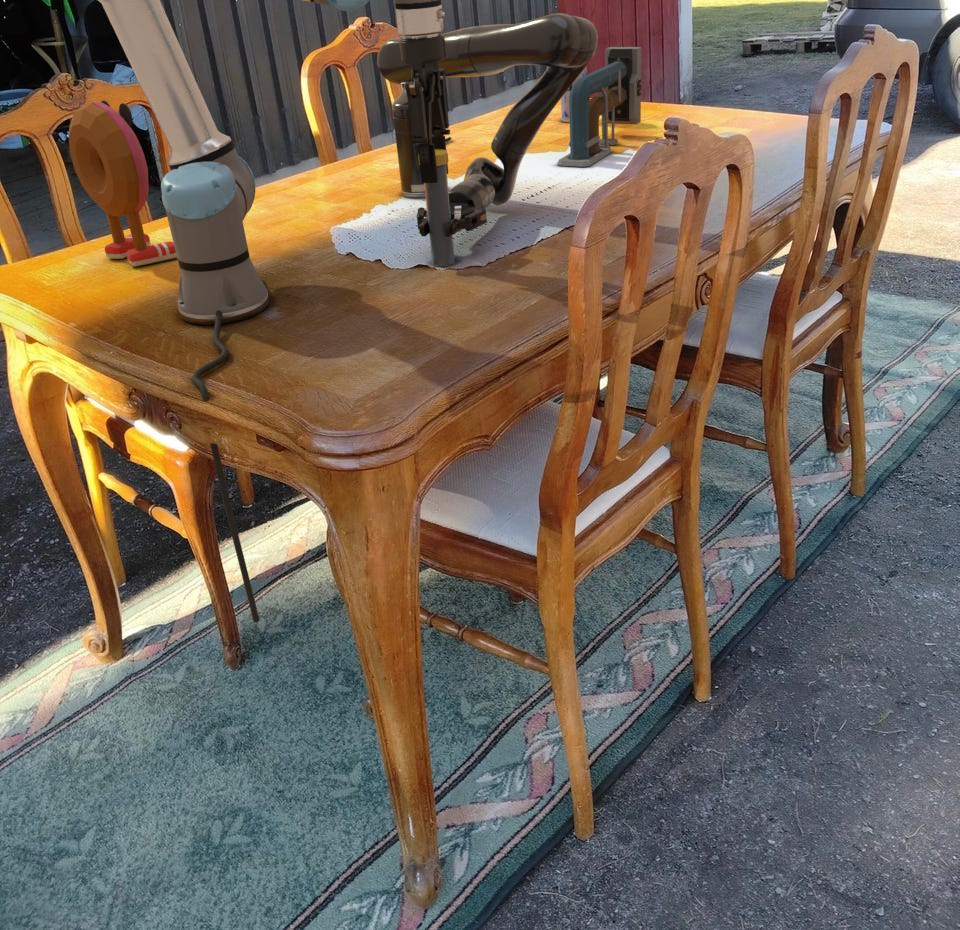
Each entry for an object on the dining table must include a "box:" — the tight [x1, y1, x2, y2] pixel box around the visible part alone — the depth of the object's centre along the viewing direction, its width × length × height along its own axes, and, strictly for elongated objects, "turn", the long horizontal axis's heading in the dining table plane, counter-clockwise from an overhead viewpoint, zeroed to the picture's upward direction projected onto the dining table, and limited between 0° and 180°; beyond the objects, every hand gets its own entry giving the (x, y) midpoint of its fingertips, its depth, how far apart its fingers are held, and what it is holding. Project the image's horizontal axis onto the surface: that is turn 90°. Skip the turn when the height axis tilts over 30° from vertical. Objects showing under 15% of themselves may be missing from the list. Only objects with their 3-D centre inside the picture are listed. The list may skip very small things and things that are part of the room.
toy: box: [68, 100, 177, 267], centre depth 187 cm, size 21×10×30 cm, turn 47°
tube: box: [424, 164, 456, 267], centre depth 174 cm, size 4×4×19 cm
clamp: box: [556, 46, 642, 168], centre depth 239 cm, size 35×9×21 cm, turn 151°
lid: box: [418, 149, 449, 166], centre depth 169 cm, size 5×5×2 cm
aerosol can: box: [560, 65, 588, 123], centre depth 273 cm, size 8×8×20 cm
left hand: (435, 177), depth 171 cm, fingers closed on lid, 5 cm apart
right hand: (435, 231), depth 173 cm, fingers closed on tube, 4 cm apart
